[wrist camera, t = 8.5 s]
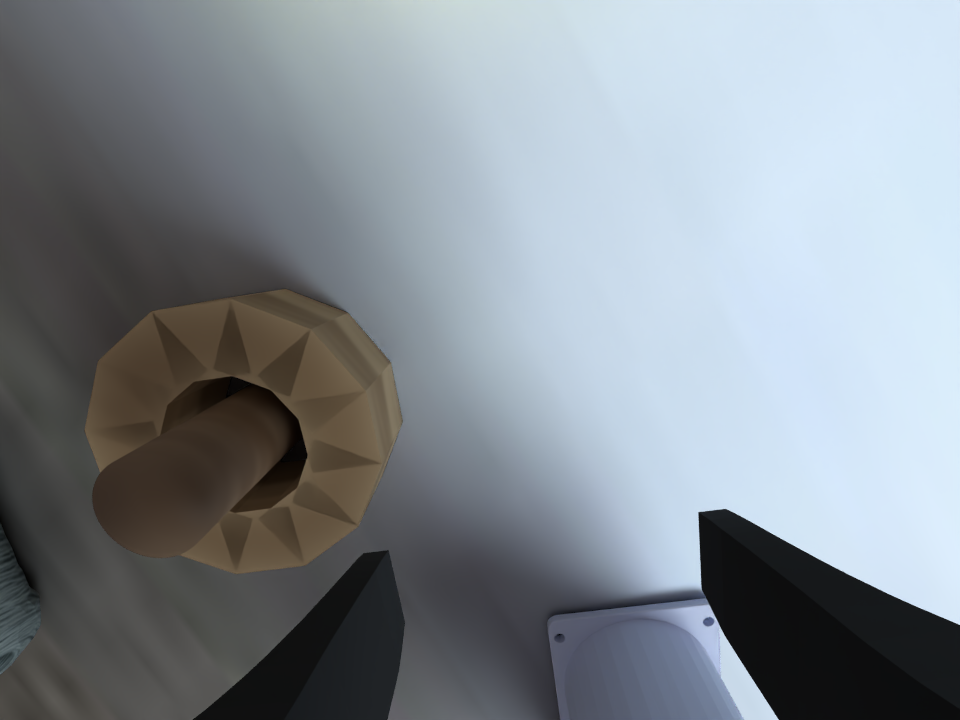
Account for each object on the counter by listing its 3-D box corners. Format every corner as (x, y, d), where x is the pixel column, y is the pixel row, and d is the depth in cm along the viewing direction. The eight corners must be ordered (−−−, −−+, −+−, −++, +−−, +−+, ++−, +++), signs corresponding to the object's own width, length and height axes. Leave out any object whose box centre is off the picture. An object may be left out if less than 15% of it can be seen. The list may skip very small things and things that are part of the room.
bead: (417, 496, 20) (401, 554, 17) (207, 523, 21) (143, 585, 17) (373, 275, 18) (341, 281, 14) (137, 311, 19) (45, 327, 15)
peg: (325, 433, 20) (221, 550, 12) (259, 442, 20) (114, 563, 12) (309, 368, 19) (188, 448, 11) (241, 377, 19) (75, 462, 11)
